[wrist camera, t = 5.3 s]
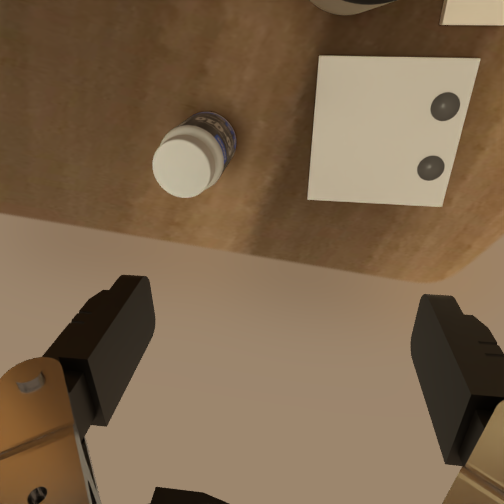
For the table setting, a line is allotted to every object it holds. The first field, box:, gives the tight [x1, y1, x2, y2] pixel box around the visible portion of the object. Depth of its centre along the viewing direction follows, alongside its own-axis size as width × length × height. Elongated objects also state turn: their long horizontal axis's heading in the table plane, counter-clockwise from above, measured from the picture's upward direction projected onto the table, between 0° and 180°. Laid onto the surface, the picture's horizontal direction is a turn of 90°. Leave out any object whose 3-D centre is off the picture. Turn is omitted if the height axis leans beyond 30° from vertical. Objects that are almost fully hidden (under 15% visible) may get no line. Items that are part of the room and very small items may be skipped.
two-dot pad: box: [307, 55, 480, 207], centre depth 31 cm, size 11×11×1 cm
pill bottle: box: [153, 112, 236, 198], centre depth 30 cm, size 5×5×8 cm
